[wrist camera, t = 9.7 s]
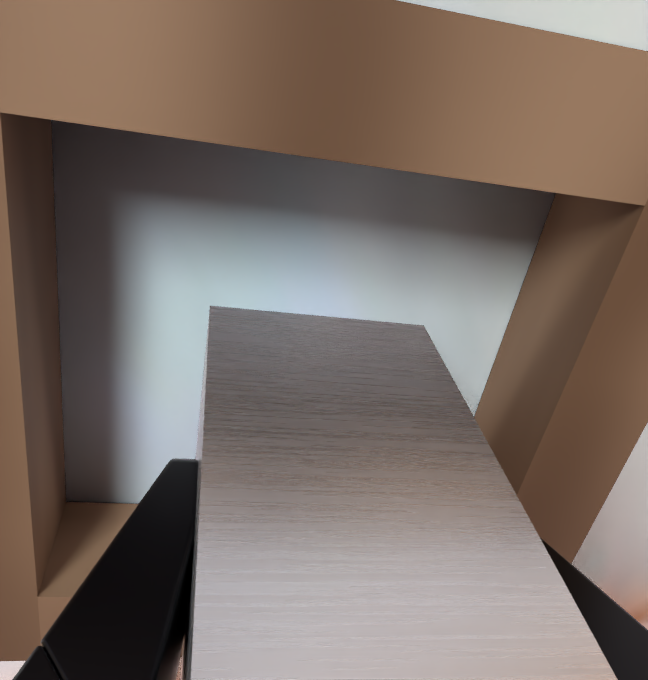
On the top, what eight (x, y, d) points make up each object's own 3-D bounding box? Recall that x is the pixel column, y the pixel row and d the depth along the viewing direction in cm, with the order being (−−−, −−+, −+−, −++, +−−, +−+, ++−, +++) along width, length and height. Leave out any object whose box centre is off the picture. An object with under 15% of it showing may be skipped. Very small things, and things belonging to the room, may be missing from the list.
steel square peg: (423, 325, 11) (675, 784, 5) (378, 482, 12) (518, 962, 6) (209, 306, 10) (185, 818, 4) (194, 475, 12) (158, 1007, 6)
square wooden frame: (710, 64, 11) (828, 88, 9) (487, 566, 17) (524, 650, 15) (-116, -104, 8) (-234, -128, 6) (-22, 561, 15) (-64, 662, 13)
